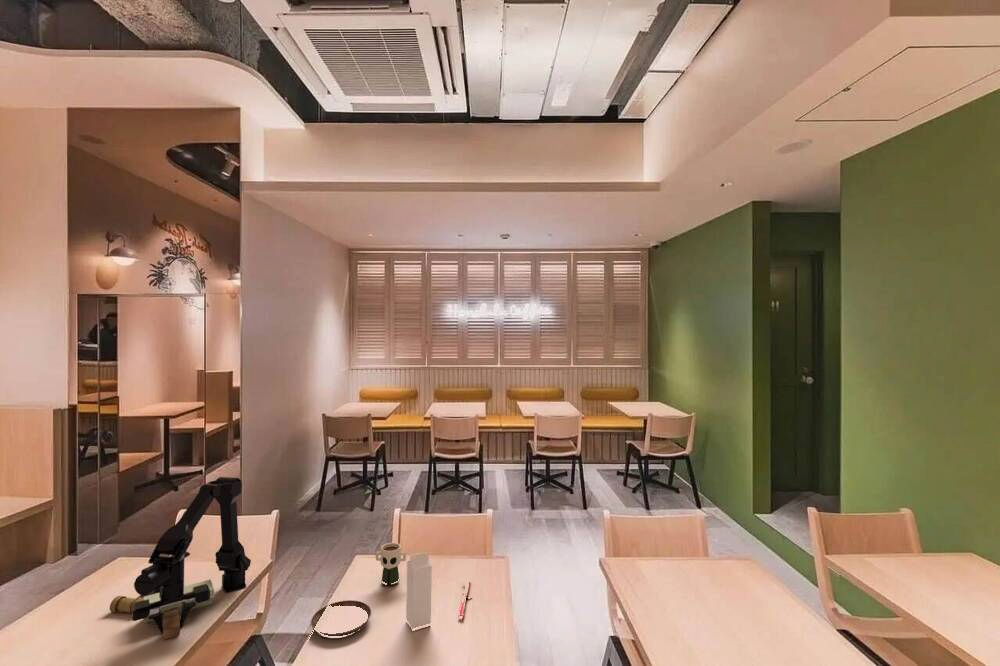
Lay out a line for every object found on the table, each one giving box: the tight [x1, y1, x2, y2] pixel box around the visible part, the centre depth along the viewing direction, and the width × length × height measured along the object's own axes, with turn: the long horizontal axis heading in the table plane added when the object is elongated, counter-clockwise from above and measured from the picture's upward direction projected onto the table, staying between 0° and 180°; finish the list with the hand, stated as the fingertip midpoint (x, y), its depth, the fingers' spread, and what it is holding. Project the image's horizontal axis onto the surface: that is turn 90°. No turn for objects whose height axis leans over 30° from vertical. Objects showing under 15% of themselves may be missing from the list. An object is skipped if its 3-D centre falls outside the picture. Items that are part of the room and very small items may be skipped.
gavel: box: [109, 592, 160, 614], centre depth 162 cm, size 21×5×10 cm
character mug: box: [375, 542, 407, 584], centre depth 174 cm, size 11×7×13 cm, turn 90°
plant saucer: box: [310, 599, 372, 636], centre depth 149 cm, size 18×18×3 cm
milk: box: [405, 551, 433, 629], centre depth 149 cm, size 6×6×22 cm
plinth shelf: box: [142, 578, 215, 624], centre depth 152 cm, size 18×8×7 cm, turn 128°
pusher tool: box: [162, 607, 181, 640], centre depth 146 cm, size 4×14×6 cm, turn 31°
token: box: [153, 613, 164, 626], centre depth 149 cm, size 4×4×2 cm
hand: (171, 630), depth 142 cm, fingers closed on pusher tool, 4 cm apart
